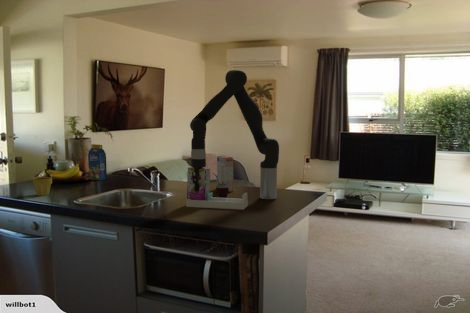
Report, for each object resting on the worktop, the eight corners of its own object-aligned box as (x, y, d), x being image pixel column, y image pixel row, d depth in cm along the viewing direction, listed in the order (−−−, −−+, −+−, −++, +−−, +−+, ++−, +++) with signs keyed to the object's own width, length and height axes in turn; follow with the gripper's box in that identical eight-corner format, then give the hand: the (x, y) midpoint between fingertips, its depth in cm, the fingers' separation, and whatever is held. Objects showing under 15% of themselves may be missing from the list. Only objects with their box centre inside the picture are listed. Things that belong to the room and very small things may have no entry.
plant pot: (56, 193, 264) (55, 177, 263) (42, 196, 255) (41, 179, 254) (43, 192, 269) (43, 176, 268) (29, 195, 259) (28, 178, 258)
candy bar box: (186, 198, 232) (187, 167, 230) (191, 197, 236) (192, 166, 235) (204, 201, 227) (205, 169, 225) (209, 199, 231) (210, 168, 230)
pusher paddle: (210, 201, 234) (210, 192, 233) (227, 202, 231) (227, 193, 231) (207, 204, 227) (206, 194, 226) (224, 205, 225) (224, 195, 224)
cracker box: (233, 191, 269) (233, 157, 267) (224, 192, 267) (224, 157, 265) (225, 188, 282) (225, 155, 280) (216, 188, 280) (216, 155, 278)
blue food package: (96, 178, 324) (94, 143, 321) (107, 179, 317) (105, 144, 314) (88, 179, 319) (87, 144, 316) (99, 180, 312) (98, 145, 309)
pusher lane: (192, 202, 238) (192, 189, 237) (247, 205, 230) (247, 192, 230) (186, 206, 228) (186, 193, 228) (243, 209, 221) (243, 195, 221)
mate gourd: (231, 198, 250) (231, 171, 248) (222, 200, 243) (222, 173, 242) (220, 196, 254) (220, 170, 252) (211, 199, 247) (211, 172, 246)
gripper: (200, 159, 221) (201, 193, 223) (209, 156, 235) (210, 188, 237) (186, 159, 223) (187, 192, 225) (196, 156, 237) (196, 187, 239)
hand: (198, 190), depth 231 cm, fingers closed on candy bar box, 5 cm apart
